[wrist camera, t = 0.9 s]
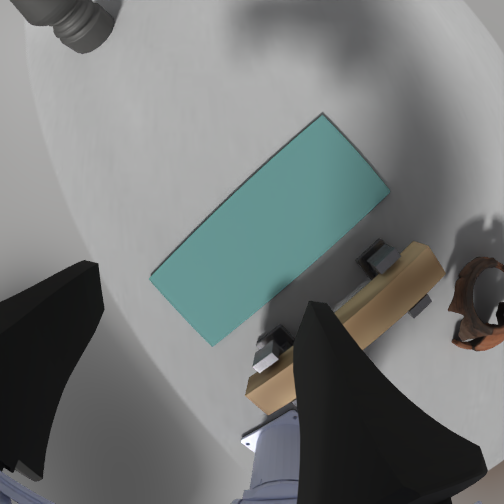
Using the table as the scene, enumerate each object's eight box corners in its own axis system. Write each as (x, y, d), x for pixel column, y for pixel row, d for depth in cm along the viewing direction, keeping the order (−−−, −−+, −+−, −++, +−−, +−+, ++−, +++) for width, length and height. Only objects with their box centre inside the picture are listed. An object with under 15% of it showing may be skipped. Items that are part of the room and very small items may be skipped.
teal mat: (389, 191, 24) (390, 191, 24) (213, 345, 28) (212, 347, 28) (321, 116, 24) (322, 114, 23) (150, 278, 28) (148, 279, 27)
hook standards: (410, 280, 25) (436, 296, 20) (292, 377, 28) (292, 410, 22) (377, 235, 25) (399, 243, 19) (254, 340, 28) (247, 370, 22)
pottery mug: (427, 349, 26) (453, 346, 19) (435, 266, 29) (459, 239, 22) (509, 354, 22) (547, 350, 15) (513, 277, 25) (548, 255, 18)
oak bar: (430, 266, 21) (446, 273, 19) (270, 396, 25) (268, 415, 22) (413, 240, 21) (428, 245, 18) (249, 377, 24) (245, 395, 22)
